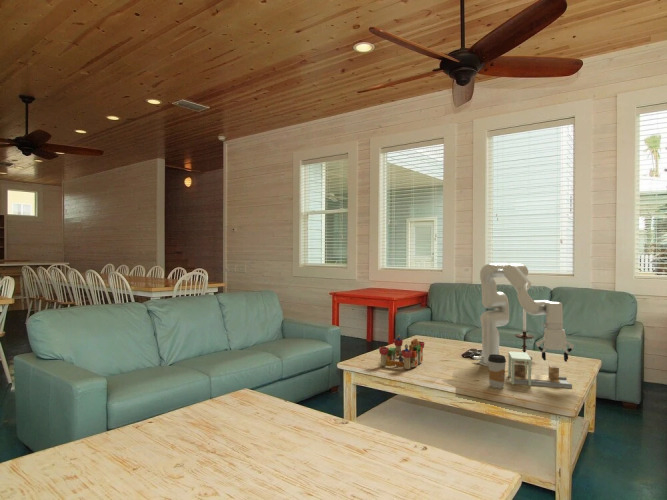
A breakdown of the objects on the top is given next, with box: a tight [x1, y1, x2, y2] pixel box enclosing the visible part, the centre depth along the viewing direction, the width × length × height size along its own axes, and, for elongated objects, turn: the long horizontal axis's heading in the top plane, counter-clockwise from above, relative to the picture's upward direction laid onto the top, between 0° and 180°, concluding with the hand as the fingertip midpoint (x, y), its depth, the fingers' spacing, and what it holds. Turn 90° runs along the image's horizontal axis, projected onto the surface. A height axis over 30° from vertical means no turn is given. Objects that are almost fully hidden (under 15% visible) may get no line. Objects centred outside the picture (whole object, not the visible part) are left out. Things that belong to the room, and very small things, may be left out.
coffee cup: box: [488, 354, 507, 389], centre depth 212 cm, size 8×8×15 cm
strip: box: [515, 364, 560, 383], centre depth 219 cm, size 20×10×7 cm, turn 74°
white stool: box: [507, 351, 532, 387], centre depth 221 cm, size 9×15×13 cm, turn 164°
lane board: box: [514, 376, 573, 389], centre depth 218 cm, size 26×12×2 cm, turn 74°
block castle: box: [378, 333, 425, 370], centre depth 257 cm, size 30×20×14 cm
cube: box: [514, 363, 525, 377], centre depth 221 cm, size 5×5×5 cm
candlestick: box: [514, 308, 535, 361], centre depth 265 cm, size 11×11×35 cm
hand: (554, 360), depth 216 cm, fingers open, 9 cm apart
